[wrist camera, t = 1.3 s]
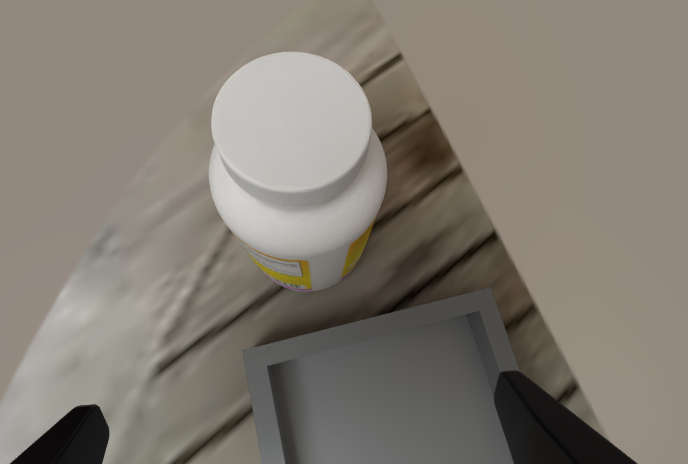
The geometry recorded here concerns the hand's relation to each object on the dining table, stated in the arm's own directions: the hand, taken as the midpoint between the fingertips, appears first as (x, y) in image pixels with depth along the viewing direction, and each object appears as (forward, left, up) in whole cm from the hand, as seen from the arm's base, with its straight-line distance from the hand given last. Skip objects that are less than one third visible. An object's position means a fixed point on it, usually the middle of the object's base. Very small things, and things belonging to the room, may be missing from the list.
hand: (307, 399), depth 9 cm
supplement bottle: (+6, +4, -13) cm, 15 cm away
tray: (-1, -6, -13) cm, 14 cm away
